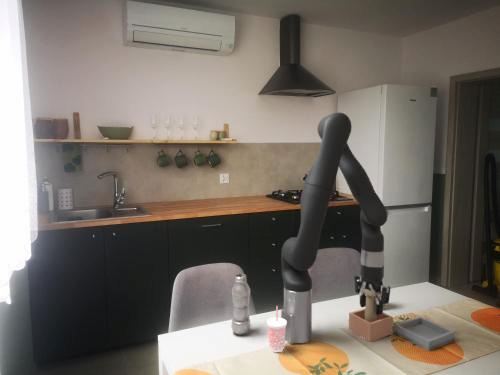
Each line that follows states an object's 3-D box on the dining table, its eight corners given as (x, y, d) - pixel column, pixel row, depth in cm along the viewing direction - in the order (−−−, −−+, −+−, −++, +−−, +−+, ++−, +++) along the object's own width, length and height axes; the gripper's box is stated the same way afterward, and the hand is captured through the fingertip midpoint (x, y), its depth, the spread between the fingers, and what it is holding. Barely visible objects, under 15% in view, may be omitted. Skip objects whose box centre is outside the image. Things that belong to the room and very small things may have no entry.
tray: (428, 351, 114) (428, 341, 114) (394, 333, 125) (394, 324, 125) (454, 340, 120) (455, 332, 120) (419, 324, 132) (419, 316, 131)
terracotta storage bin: (369, 342, 120) (370, 324, 119) (348, 329, 128) (349, 312, 128) (392, 334, 125) (393, 317, 124) (370, 322, 133) (371, 306, 132)
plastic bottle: (227, 334, 125) (227, 277, 123) (237, 326, 131) (237, 271, 129) (244, 338, 122) (244, 280, 120) (254, 330, 128) (253, 274, 126)
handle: (371, 326, 130) (372, 285, 129) (381, 335, 124) (383, 292, 122) (359, 328, 129) (360, 286, 127) (368, 337, 123) (370, 293, 121)
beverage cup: (274, 342, 120) (274, 300, 119) (290, 348, 116) (290, 305, 115) (263, 349, 115) (263, 306, 114) (279, 356, 111) (279, 312, 110)
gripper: (348, 258, 129) (347, 305, 130) (381, 270, 116) (379, 321, 118) (364, 255, 132) (363, 300, 134) (397, 266, 119) (395, 316, 121)
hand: (370, 310), depth 126 cm, fingers open, 6 cm apart
